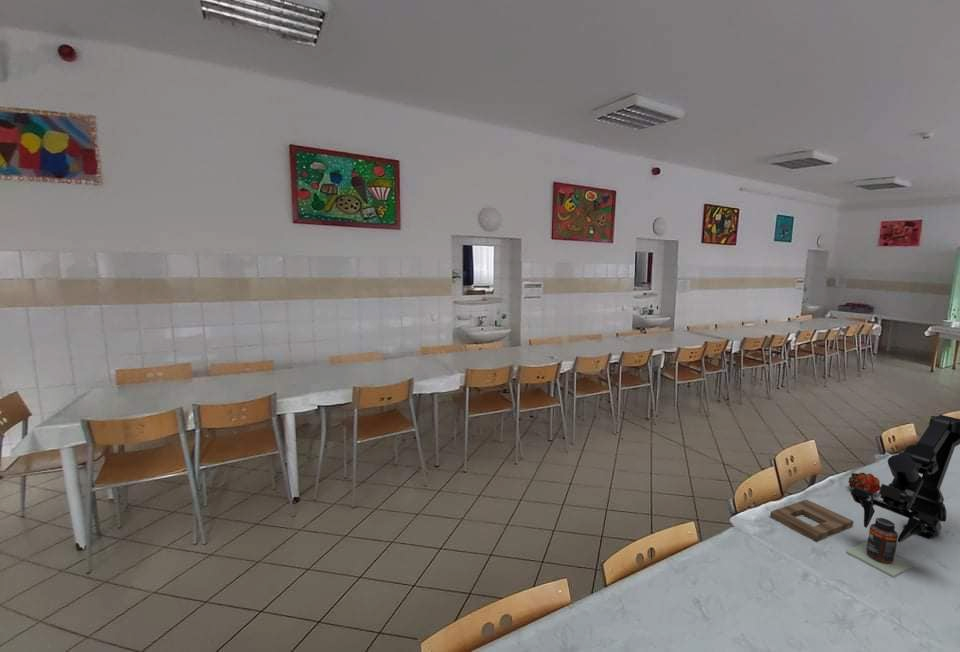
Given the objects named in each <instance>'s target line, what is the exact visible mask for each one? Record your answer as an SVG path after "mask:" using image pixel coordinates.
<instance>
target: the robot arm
mask: <svg viewBox="0 0 960 652" xmlns="http://www.w3.org/2000/svg"><path fill="white" fill-rule="evenodd" d="M959 445H960V418H956V417H953V416H948V415H943V414H939V415H935V416H934V415H931V416H930V419H929V423H928V427H927V428H926V429H925V431H924V433H922V435H921V437H920V438H919V440H918V441H917V443H915V444H912V445H908V446H907V447H906V448H904V450H903V451H901V452H899V453H898V454H894V455H891V456H890V457H888V459H887V465H888V468H889V470H890V473H891V475H892V477H893V478H892V481H891V483H888V485H887V484H885V483H881V485H880V487H881V488H880V490H879V491H878V495H880V498H876V497H874V495H873V496H872V494H871V492H869V491H866V490H864V489H861V488H858V487H856V488H851V489H852V490H851V491H850V495H851V496H852V499H853V501H854V502H855V503H857V504H858V505H859V504H860V505H861V507H862V508H863V511H864V512H863V527H864V528H868V526H870V524H871V521H872V518H873V516H874V514H875V512H876V511H875V507H874V506H876V507H880V508H882V509H885V510H887V511H890V512H892V513H894V514H897V515H900V516H903V517H905V518H907V519H908V520H907V523H906V524H905V525H903V527H902V528H903V529H902V530H901V532H900V534H898V539H897V543H902V542H903V541H906V539H908V538H910V537H912V536H914V535H919V536H921V537H925V539H926V538H927V539H932V538H934V537H937V536H938V535H940V533H941V530H942V525H941V522H944V523H945V522H946V521H947V511H948V510H947V508H946V505H945V503H944V501H945V497H944V496H943V494H942V491H941V488H942V487H941V486H942V484H943V482H944V480H945V476H946V474H947V470H948V468H949V465H950V462H951V459H952V457H953V453H954V450H955V448H956V447H958V446H959ZM921 475H922V476H921ZM881 499H882V500H881Z"/></svg>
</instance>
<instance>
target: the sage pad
mask: <svg viewBox="0 0 960 652" xmlns="http://www.w3.org/2000/svg"><path fill="white" fill-rule="evenodd" d="M867 543H868V541H865V542H863V543H860V544H857V546H854V547H852V548H850V549H848V550H846V551H845V553H846V554H848V555H849V556H852V557H853V558H855V559H857V560H859V561H861V562H863V563H865V564H866V565H868V566H870V567H872V568H874V569H876V570H878V571H879V572H882V573H884V574H886V575H888V576H889V577H891V578H896V577H898V576H899V575H901V574H903V573H905V572H907V571H909V570H911V569H913V568H914V567H915V566H914V564H913V563H911V562H909V561H907V560H905V559H903V558H901V557H898V556H897V555H895V557H894V561H893V562H892V563H883V562H880V561H877V560H875V559H873V558H871V557H870V556H869V555H868V554H867V552H866V549H867Z"/></svg>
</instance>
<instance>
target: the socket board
mask: <svg viewBox="0 0 960 652" xmlns="http://www.w3.org/2000/svg"><path fill="white" fill-rule="evenodd" d="M799 516H804V517H805V516H806V517H805V518H807V517H808V519H809V518H810V520H811V519H812V520H811V521H813V520H814V521H813V522H815V521H816V523H817V524H816V525H812V524H810V523H807V522H805V521H804V520H802V519H800V518H797V517H799ZM769 517H770V518H771V519H773V520H775V521H777V522H779V523H780V524H783V525H784V526H786V527H788V528H790V529H791V530H793V531H796V532H797V533H799V534H800V535H803V536H805V537H806V536H807V537H806V538H808V537H809V538H808V539H810V538H811V540H812V539H813V541H814V542H816V543H817V542H819V540H820V541H822V540H825V539H826V537H827V538H829V537H831V535H832V536H833V534H834V535H836V534H838V532H839V533H841V532H843V531H846V530H848V529H850V527H851V528H853V525H854V520H852V519H851V518H848V517H846V516H844V515H842V514H839V513H837V512H836V511H833V510H830V509H828V508H826V507H824V506H822V505H820V504H817V503H815V502H813V501H811V500H809V499H803V500H800V501H797V502H794V503H792V504H789V505H786V506H783V507H780V508H778V509H774V510H772V511H770V516H769ZM845 529H846V530H845ZM842 530H843V531H842ZM840 531H841V532H840ZM835 533H836V534H835ZM828 536H829V537H828Z"/></svg>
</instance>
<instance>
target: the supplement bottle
mask: <svg viewBox="0 0 960 652" xmlns="http://www.w3.org/2000/svg"><path fill="white" fill-rule="evenodd" d="M895 525H896V524H895V523H894V522H893V521H891V520H889V519H886V518H884V517H877V518H875V521H874V523H872V524H870V525H869V531H868V536H867V542H868V543H867V549H866V552H867V554H868V555H869V556H870V557H871V558H873V559H875V560H877V561H880V562H883V563H892V562H893V561H894V557H895V556H896V551H897V543H898V538H899V534H898V532H897V531H896V530H895Z"/></svg>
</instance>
